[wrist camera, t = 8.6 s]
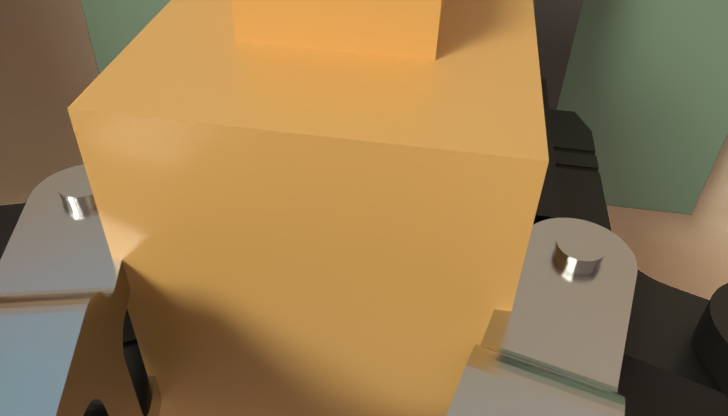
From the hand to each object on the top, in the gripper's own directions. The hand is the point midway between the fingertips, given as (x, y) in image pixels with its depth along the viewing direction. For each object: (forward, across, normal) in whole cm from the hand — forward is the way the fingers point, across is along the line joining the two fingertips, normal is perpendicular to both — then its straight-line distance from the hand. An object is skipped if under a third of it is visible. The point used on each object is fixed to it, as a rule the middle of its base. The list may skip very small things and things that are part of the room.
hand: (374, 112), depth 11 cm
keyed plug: (+2, 0, 0) cm, 2 cm away
